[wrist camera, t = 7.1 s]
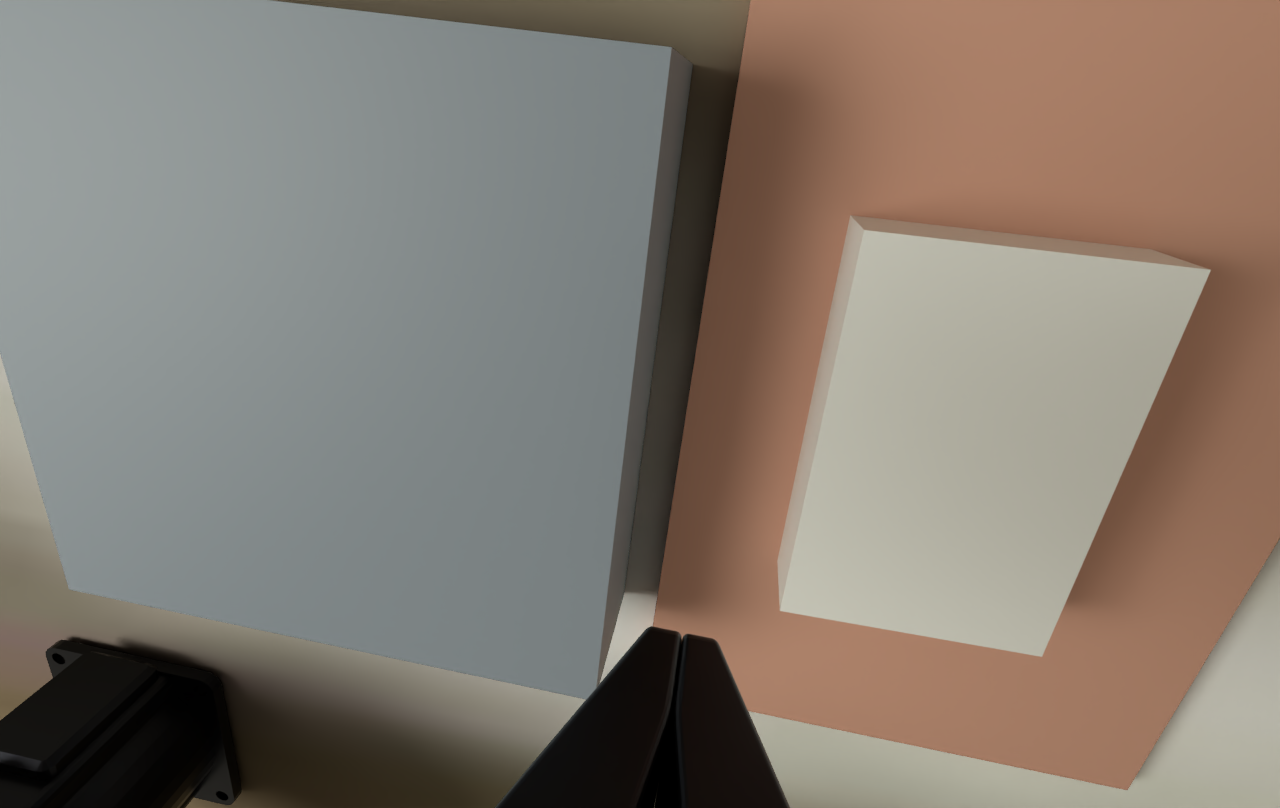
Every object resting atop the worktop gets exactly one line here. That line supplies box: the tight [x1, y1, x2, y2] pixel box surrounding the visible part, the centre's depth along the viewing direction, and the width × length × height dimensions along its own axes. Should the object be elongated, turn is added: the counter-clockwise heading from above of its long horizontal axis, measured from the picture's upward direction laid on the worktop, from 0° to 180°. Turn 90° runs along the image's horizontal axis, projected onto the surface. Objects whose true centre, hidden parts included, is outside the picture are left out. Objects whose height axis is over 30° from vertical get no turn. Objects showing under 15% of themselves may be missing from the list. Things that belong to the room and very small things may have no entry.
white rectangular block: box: [777, 215, 1211, 657], centre depth 15 cm, size 9×6×2 cm, turn 175°
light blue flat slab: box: [0, 0, 693, 699], centre depth 16 cm, size 14×14×4 cm
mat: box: [653, 0, 1280, 790], centre depth 16 cm, size 20×14×1 cm
